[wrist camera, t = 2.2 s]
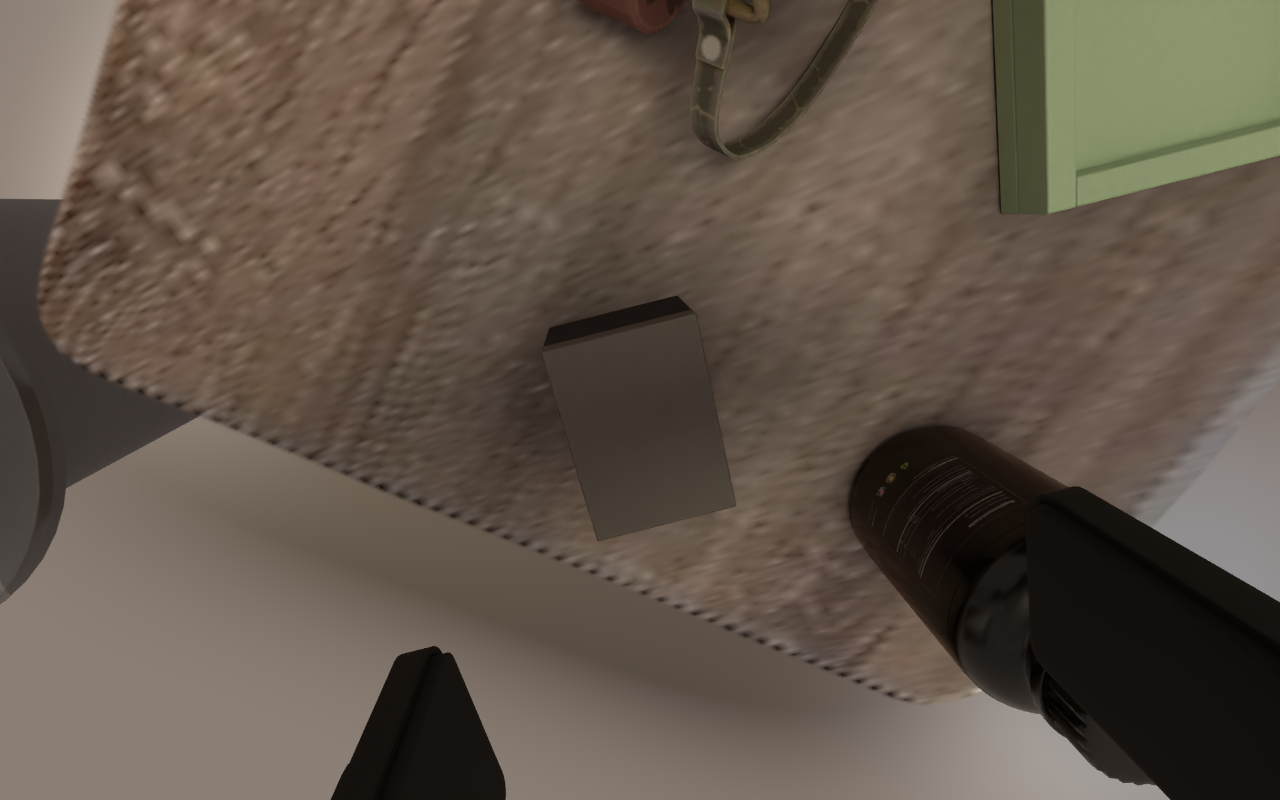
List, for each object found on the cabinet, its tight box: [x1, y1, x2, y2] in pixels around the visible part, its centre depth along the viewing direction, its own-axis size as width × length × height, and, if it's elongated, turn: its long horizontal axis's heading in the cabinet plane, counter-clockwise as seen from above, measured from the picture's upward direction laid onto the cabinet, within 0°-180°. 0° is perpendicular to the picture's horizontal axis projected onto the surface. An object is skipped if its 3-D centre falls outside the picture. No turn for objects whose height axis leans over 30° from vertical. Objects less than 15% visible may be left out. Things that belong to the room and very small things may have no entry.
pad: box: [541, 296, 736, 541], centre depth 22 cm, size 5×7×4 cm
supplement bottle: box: [851, 427, 1156, 785], centre depth 20 cm, size 7×7×12 cm
